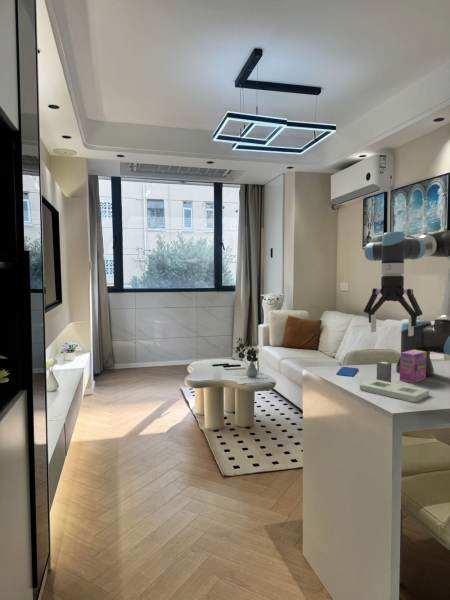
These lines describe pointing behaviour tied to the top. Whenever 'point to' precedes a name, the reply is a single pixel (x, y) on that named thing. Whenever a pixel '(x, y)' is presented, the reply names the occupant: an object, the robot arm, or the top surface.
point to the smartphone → (347, 371)
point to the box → (413, 366)
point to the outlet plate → (395, 390)
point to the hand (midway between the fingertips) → (391, 333)
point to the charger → (384, 371)
